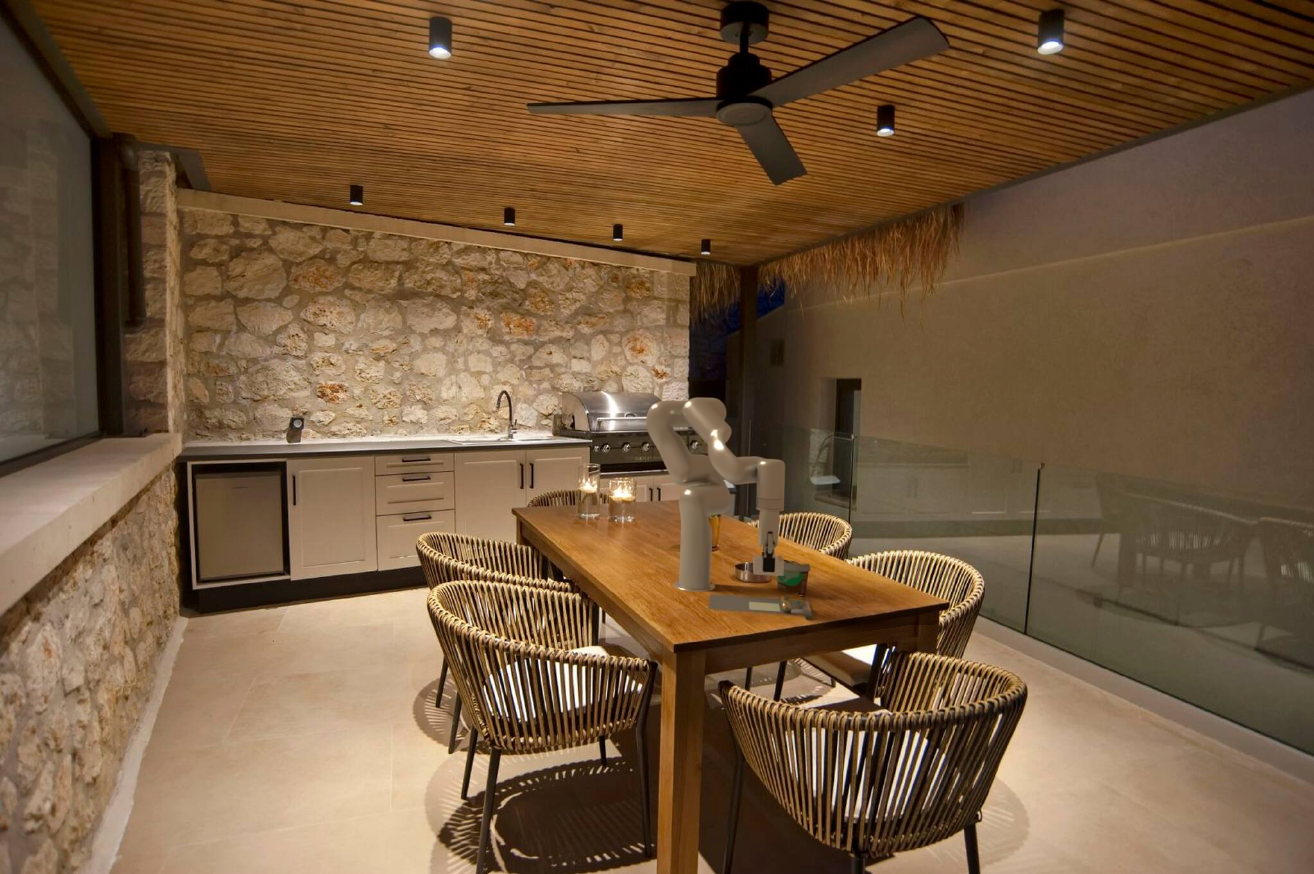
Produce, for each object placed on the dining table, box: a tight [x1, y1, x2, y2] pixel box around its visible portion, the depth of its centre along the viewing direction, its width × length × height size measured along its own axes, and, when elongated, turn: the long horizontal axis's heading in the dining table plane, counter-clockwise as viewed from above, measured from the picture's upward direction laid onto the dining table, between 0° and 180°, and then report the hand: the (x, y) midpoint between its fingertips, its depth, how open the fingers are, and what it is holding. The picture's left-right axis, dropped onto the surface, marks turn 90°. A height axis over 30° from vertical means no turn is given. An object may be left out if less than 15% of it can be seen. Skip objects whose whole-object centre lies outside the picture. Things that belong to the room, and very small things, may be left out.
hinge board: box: [707, 593, 813, 621], centre depth 198 cm, size 14×28×1 cm, turn 84°
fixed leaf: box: [780, 595, 812, 615], centre depth 195 cm, size 10×8×2 cm
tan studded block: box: [752, 554, 785, 577], centre depth 195 cm, size 6×8×4 cm
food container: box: [776, 558, 811, 597], centre depth 214 cm, size 12×6×10 cm, turn 37°
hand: (768, 568), depth 195 cm, fingers closed on tan studded block, 6 cm apart
